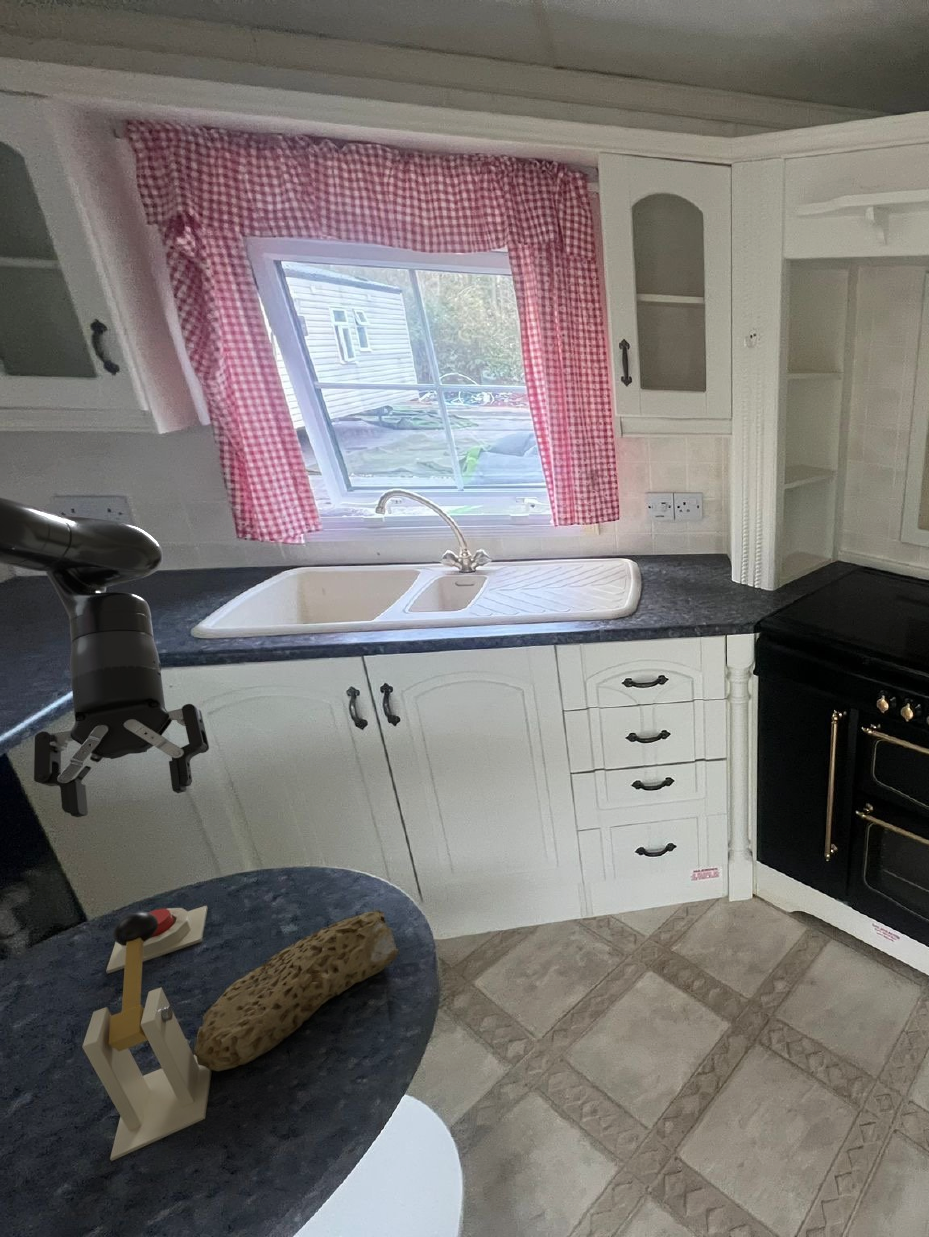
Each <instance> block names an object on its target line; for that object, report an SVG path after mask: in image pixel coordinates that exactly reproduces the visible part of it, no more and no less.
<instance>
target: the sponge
mask: <svg viewBox="0 0 929 1237" xmlns="http://www.w3.org/2000/svg"><path fill="white" fill-rule="evenodd" d="M385 919H386V916H385V913H384V912H382V911H380V910H379V909H376V910H371V911H366V912H364V913H360V914H359V915H356V916H352V917H348V918H343V919H341V920H339V921H338V922H335V923H332V924H331V925H328V926H327V927H326V926H325V927H323V928H321V929H320V930H317V931H316V932H313V933H312V934H311V935H307V936H306V937H304V938H301V939H300V940H298V941H296V942H294V943H292V944H290V945H289V946H288V947H286V948H284V949H283V950H280V951H279V952H277V953H276V954H273V956H271V957H270V958H269V959H268V961H267V962H264V963H263V964H262V965H260V966H258V967H257V968H255V969H253V970H252V971H250V972H248V974H247V975H245V976H243V977H242V978H239V979H237V980H236V981H235V982H233V983H232V984H231V985H229V986H228V987H227V988H226V989H225V990H224V992H223V994H222V995H220V997H218V999H217V1000H216V1002H214V1003H213V1004H212V1005H211V1006H210V1008H209V1009H208V1010H207V1011H206V1012H205V1014H204V1015H203V1016H202V1020H203V1023H202V1026H199V1027H198V1031H197V1033H196V1043H195V1046H194V1049H193V1051H192V1054H193V1055H195V1056H196V1057H197V1062H198V1065H201V1066H205V1067H206V1068H208V1069H210V1070H212V1071H214V1072H221V1071H225V1070H230V1069H231V1070H232V1069H234V1068H236V1067H238V1066H242V1065H243V1066H244V1065H246V1064H248V1063H250V1062H253V1061H255V1059H257V1058H258V1057H261V1056H262V1055H264V1054H266V1053H267V1052H269V1051H271V1050H272V1049H274V1048H275V1047H276V1046H278V1045H279V1044H280V1043H281V1042H283V1041H284V1039H286V1038H287V1037H289V1036H291V1034H292V1033H294V1032H296V1030H297V1029H299V1028H301V1026H302V1025H303V1023H304V1022H305V1021H307V1020H308V1019H309V1018H310V1017H311V1016H312V1015H313V1014H314V1013H316V1011H317V1010H318V1009H319V1008H320V1007H322V1005H324V1004H325V1003H326V1002H327V1001H329V1000H330V999H332V998H335V996H339V995H341V994H342V993H343V992H344V991H346V990H348V989H350V988H351V987H352V986H354V985H355V984H357V983H360V982H363V981H365V980H366V979H368V978H370V977H372V976H374V975H377V974H379V973H381V972H382V971H383V970H384V969H385V968H387V967H388V966H389V965H390V964H392V963H393V961H394V959H396V958H397V956H398V955H399V952H400V951H399V948H398V947H397V945H396V943H395V937H394V934H393V931H392V930H391V928H390V927H388V926H387V924H386V920H385Z"/></svg>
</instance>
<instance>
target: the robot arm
mask: <svg viewBox="0 0 929 1237" xmlns="http://www.w3.org/2000/svg"><path fill="white" fill-rule="evenodd" d="M163 560H164V551H163V549H162V547H161V545H160V544H159V542H158V541H157V539H155V538H154V537H153V536H152V535H150V534H149V533H148V532H147V531H145V530H143V529H141V528H139V527H137V526H136V525H133V524H129V523H125V522H122V521H117V520H116V521H115V520H108V519H103V518H102V519H101V518H93V517H92V518H91V517H84V516H69V515H60V514H57V513H55V512H52V511H49V510H46V509H42V508H39V507H36V506H32V505H30V504H26V503H22V502H19V501H15V500H11V499H8V498H3V497H0V564H1V565H5V566H11V567H15V568H20V569H25V570H29V571H35V572H45V574H46V575H47V578H48V579H49V581H50V583H51V584H52V586H53V587H54V589H55V591H56V593H57V595H58V597H59V599H60V601H61V603H62V605H63V607H64V609H65V611H66V613H67V615H68V619H69V620H68V621H69V633H70V635H69V636H70V642H71V643H70V645H71V647H70V648H71V649H70V655H69V656H70V658H69V669H70V679H71V691H72V692H71V693H72V701H73V702H72V703H73V704H72V705H73V713H74V720H75V721H74V725H73V727H72V728H71V730H66V731H59V732H54V733H52V732H49V731H40V732H38V733H36V734H35V736H34V752H33V755H34V756H33V757H34V760H33V781H34V782H35V783H38V784H41V785H44V786H47V787H59V788H60V798H61V802H60V803H61V809H62V811H63V812H64V813H66V814H69V815H70V816H72V817H75V818H81V817H85V816H88V814H89V810H88V809H89V808H88V799H87V788H86V784H84V781H85V780H86V779H87V778H88V777H89V776H90V774H91V773H92V771H94V770H96V769H98V767H99V766H100V765H101V764H102V763H103V762H104V761H105V759H110V760H114V759H119V758H122V757H125V756H127V755H131V754H142V753H147V752H148V750H149V749H152V748H153V747H155V748H157V749H158V750H160V751H162V752H163V753H165V755H168V756H169V757H171V760H169V761H168V765H169V767H168V768H169V774H170V775H169V776H170V781H171V782H170V783H171V789H172V791H173V792H174V793H176V794H182V793H185V792H187V787H190V786H192V784H193V776H192V768H191V760H192V759H193V758H194V757H196V756H198V755H200V754H204V753H206V752H208V751H209V749H210V744H209V740H208V736H207V730H206V728H205V727H206V726H205V722H204V718H203V713H202V711H201V709H199V708H198V707H196V706H195V705H194V704H192V703H186V704H184V705H183V706H182V707H181V708H178V709H173V710H169V711H168V710H167V709H166V705H165V704H166V703H165V694H164V687H163V679H162V663H161V661H160V656H159V652H158V649H157V645H156V643H155V638H154V629H153V622H152V613H151V608H150V606H149V604H148V602H147V601H146V600H145V599H144V598H143V597H141V596H139V595H137V594H133V593H129V592H121V591H119V592H117V591H108V592H107V587H108V588H109V587H111V586H114V585H120V584H123V583H128V582H130V581H136V580H140V579H143V578H146V577H148V576H151V575H152V574H154V573H156V572H158V570H159V569H160V568H161V566H162V564H163V562H164V561H163ZM172 721H176V722H177V723H178V724H179V725H181V726H183V727H184V728H185V732H186V735H187V741H188V743H187V744H186V745H183V746H181V747H180V746H179V745H177V744H175V743H174V742H173V741H171V740H169V739H168V738H166V737H165V736H163V735H164V733H165V732H166V730H167V729H168V727H169V726H171V724H172ZM72 741H74V742H75V743H78V744H79V745H81V746H79V748H78V749H77V750H76V751H75V752H74V754H73V755H72V756H71V757H70V760H69V761H70V762H69V763H68V764H67V765H66V767H65V768H64V769H63V770H62V752H63V751H65V750H67V748H68V745H69V743H71V742H72Z"/></svg>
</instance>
